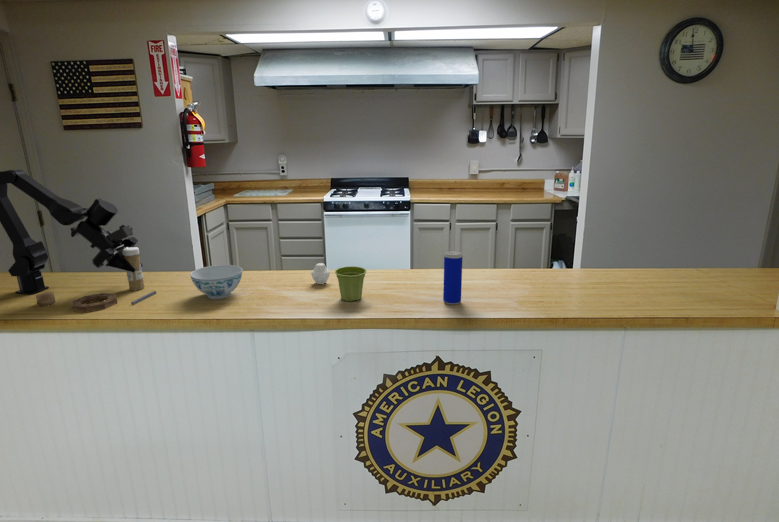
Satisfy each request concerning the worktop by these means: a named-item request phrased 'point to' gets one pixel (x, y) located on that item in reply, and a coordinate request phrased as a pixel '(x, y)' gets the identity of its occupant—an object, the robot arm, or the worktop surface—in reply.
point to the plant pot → (350, 282)
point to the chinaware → (217, 280)
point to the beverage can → (452, 277)
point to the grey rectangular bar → (143, 297)
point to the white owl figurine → (320, 273)
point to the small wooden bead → (45, 299)
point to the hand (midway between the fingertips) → (138, 269)
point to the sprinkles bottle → (134, 259)
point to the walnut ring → (81, 306)
